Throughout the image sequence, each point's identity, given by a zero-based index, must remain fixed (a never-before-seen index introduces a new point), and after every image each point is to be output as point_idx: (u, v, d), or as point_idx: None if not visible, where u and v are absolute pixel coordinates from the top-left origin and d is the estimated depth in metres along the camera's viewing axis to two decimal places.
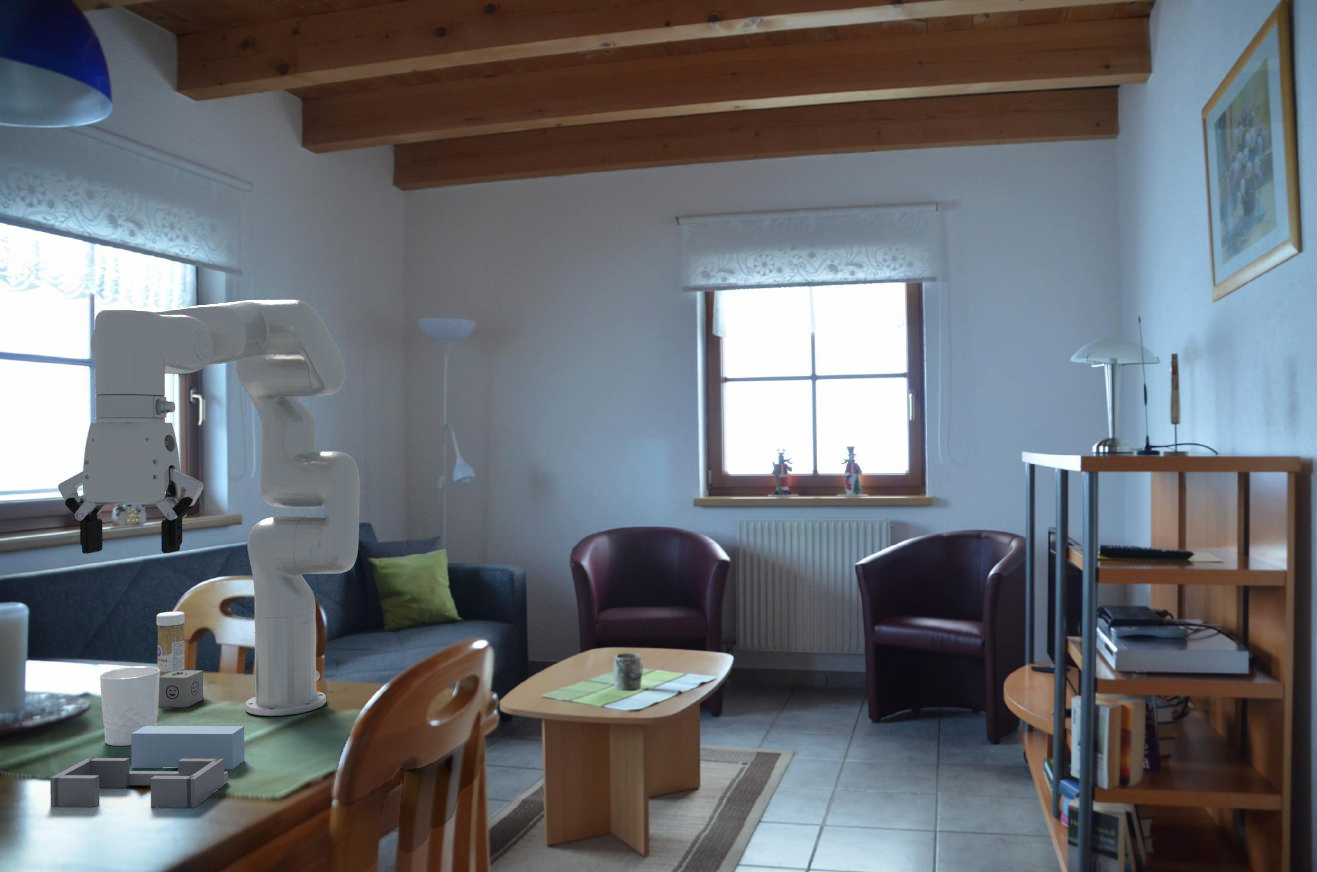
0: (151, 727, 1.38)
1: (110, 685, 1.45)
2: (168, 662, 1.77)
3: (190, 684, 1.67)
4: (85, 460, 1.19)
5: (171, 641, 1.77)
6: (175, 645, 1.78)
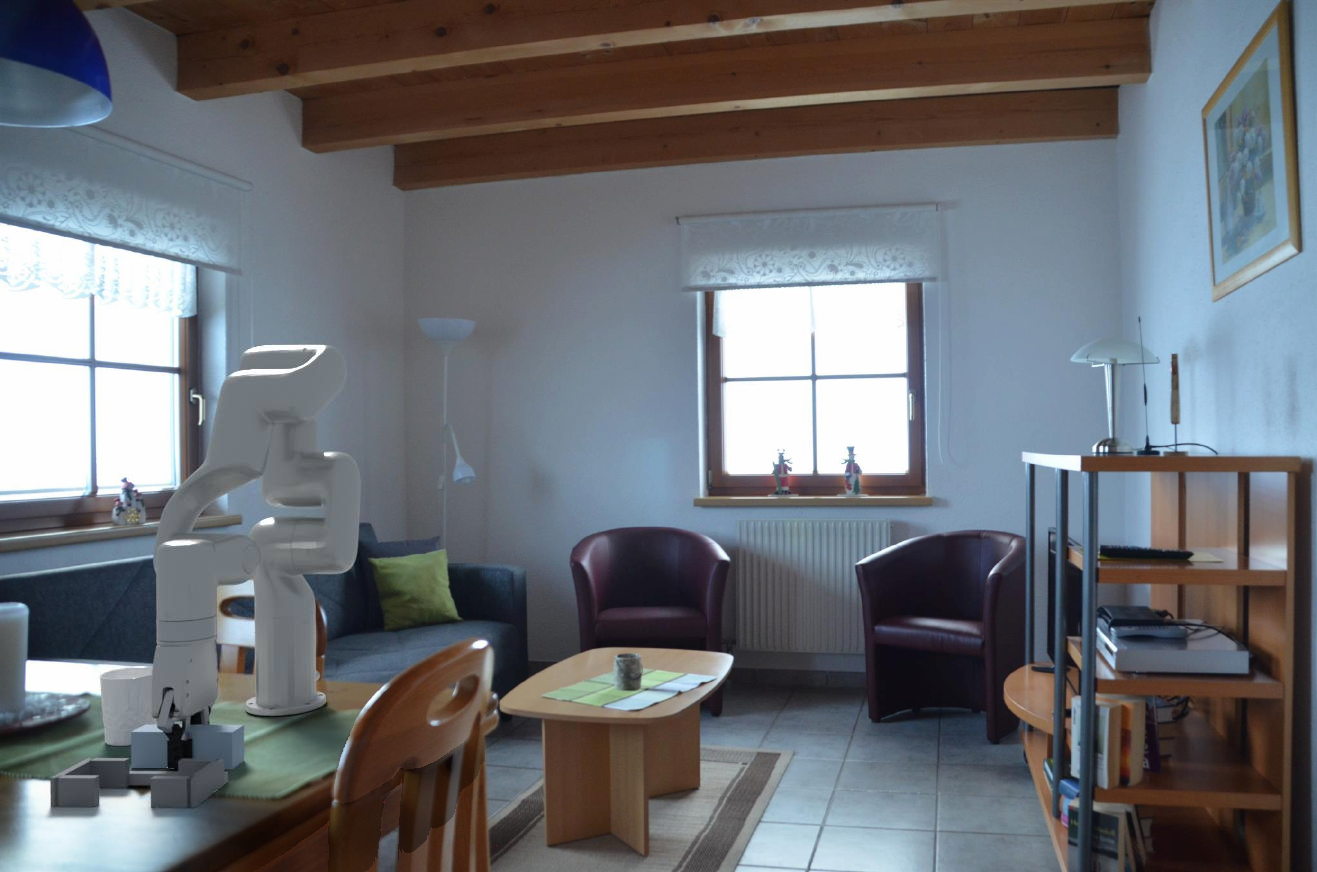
0: (151, 726, 1.38)
1: (110, 685, 1.45)
2: None
3: None
4: (185, 681, 1.33)
5: None
6: None
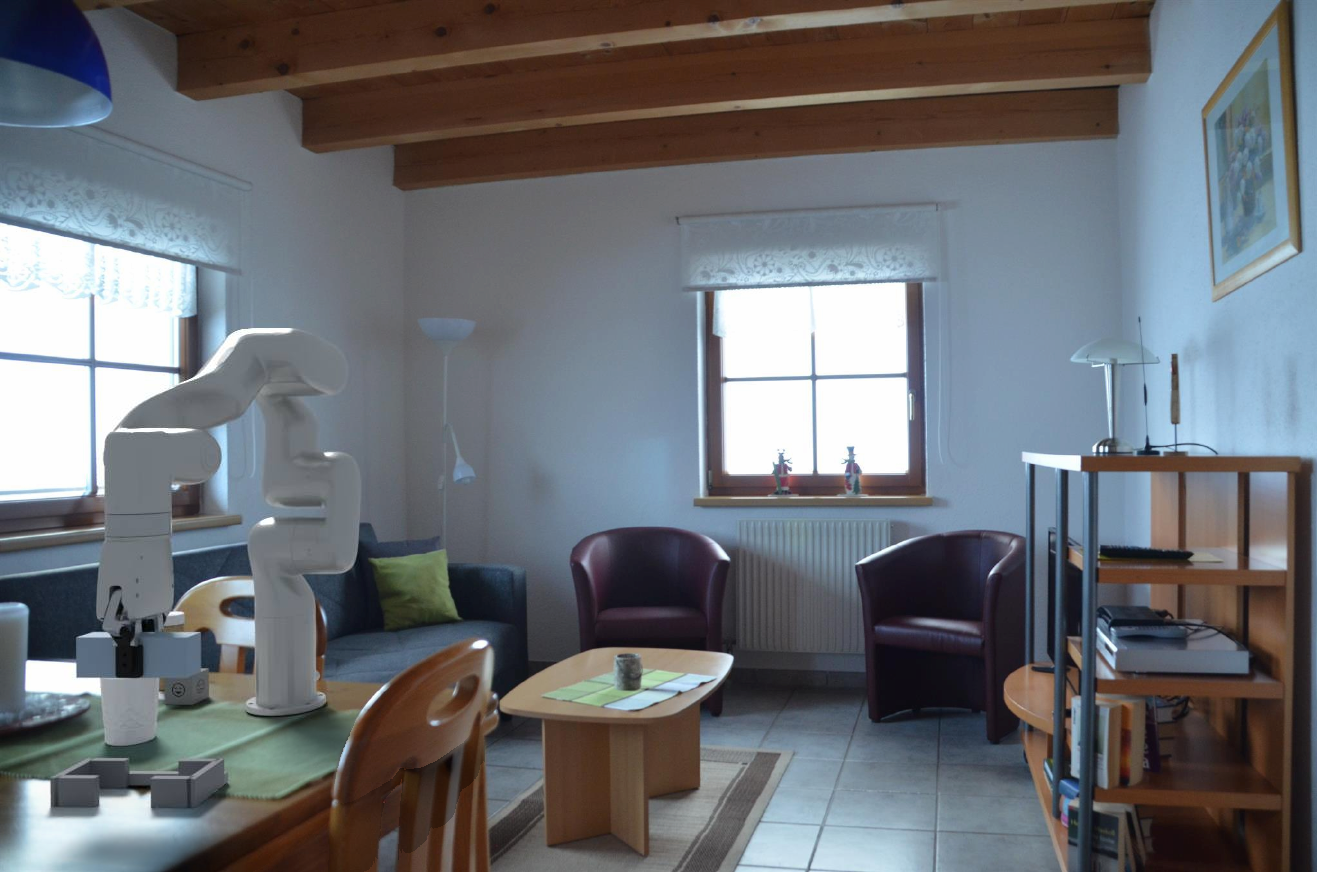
0: (99, 633, 1.26)
1: (110, 685, 1.45)
2: None
3: (196, 682, 1.69)
4: (135, 579, 1.21)
5: None
6: None
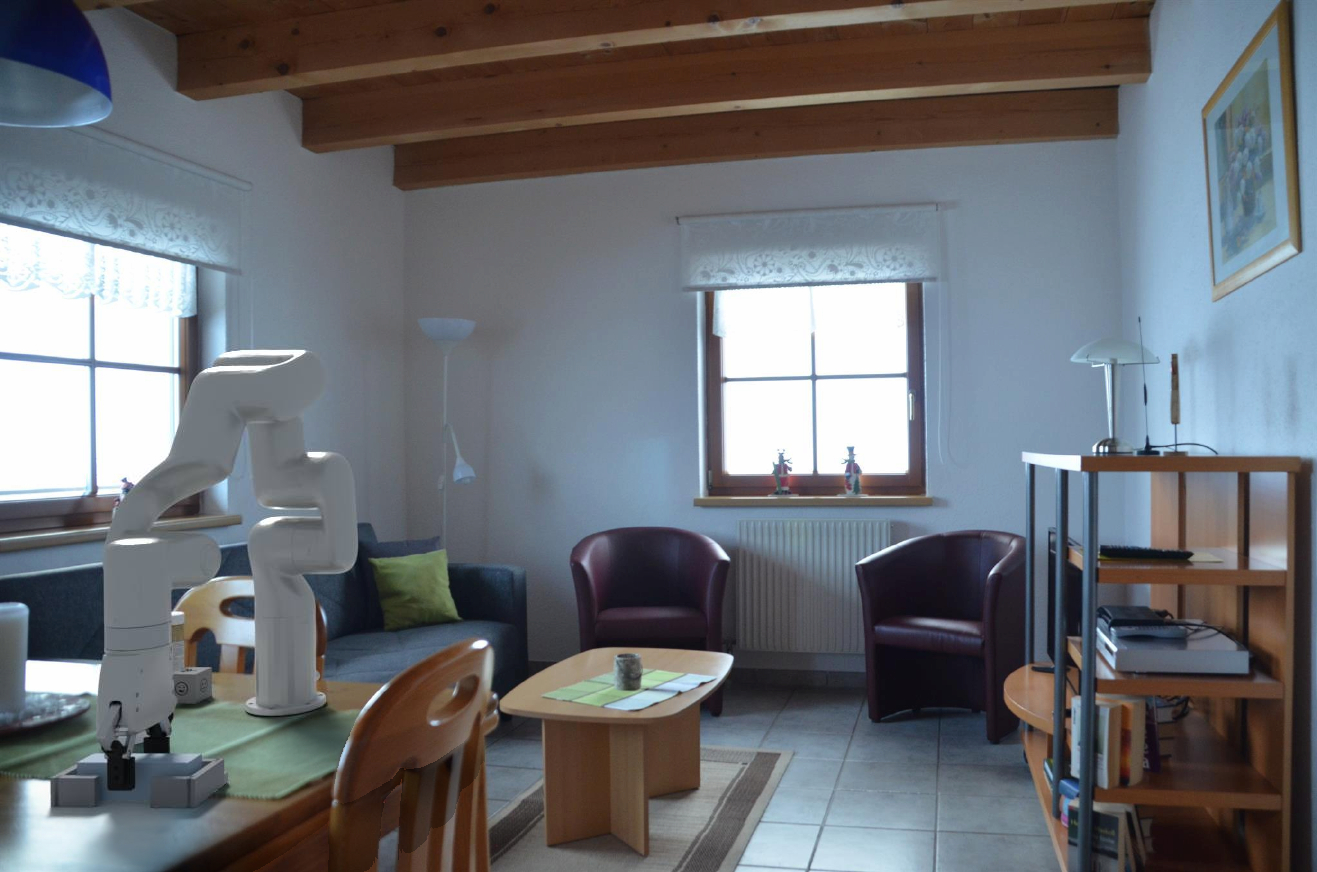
0: (99, 755, 1.26)
1: None
2: None
3: (199, 681, 1.70)
4: (135, 693, 1.21)
5: None
6: (175, 645, 1.78)
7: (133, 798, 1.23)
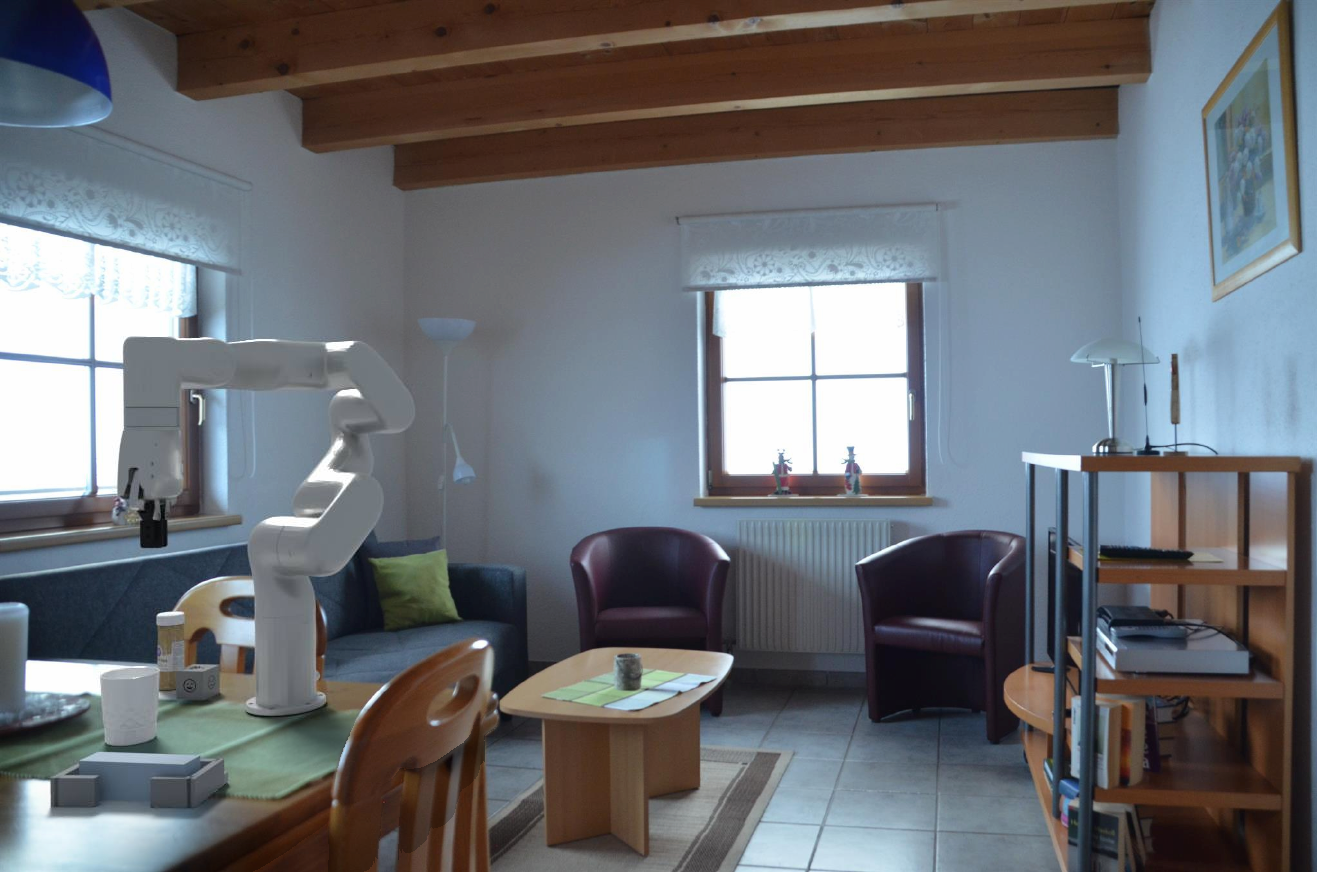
0: (103, 753, 1.27)
1: (110, 685, 1.45)
2: (168, 662, 1.77)
3: (207, 678, 1.72)
4: (150, 462, 1.40)
5: (171, 641, 1.77)
6: (175, 645, 1.78)
7: (132, 798, 1.23)
